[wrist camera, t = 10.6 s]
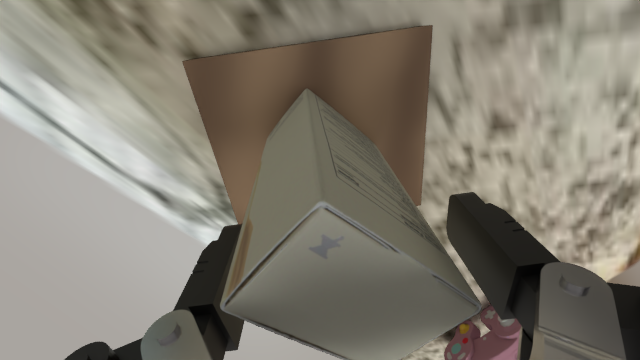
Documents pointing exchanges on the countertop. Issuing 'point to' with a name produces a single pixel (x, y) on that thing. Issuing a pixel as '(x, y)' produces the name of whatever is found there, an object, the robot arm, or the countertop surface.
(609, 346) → the robot arm
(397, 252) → the skincare box
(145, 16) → the countertop surface
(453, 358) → the video game controller
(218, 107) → the wooden board
